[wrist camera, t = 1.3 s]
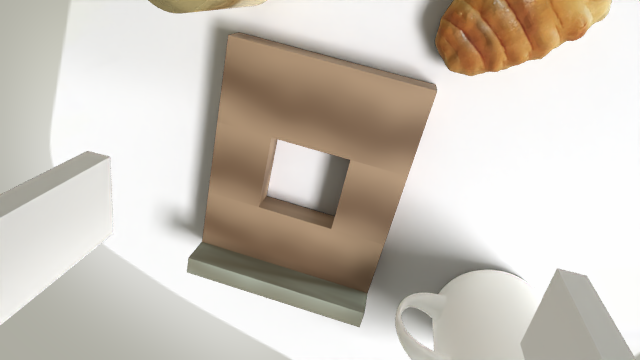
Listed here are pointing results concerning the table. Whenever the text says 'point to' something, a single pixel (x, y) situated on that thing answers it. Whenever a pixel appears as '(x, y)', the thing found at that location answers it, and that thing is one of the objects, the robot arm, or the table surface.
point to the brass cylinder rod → (202, 5)
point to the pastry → (510, 31)
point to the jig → (319, 134)
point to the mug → (473, 317)
